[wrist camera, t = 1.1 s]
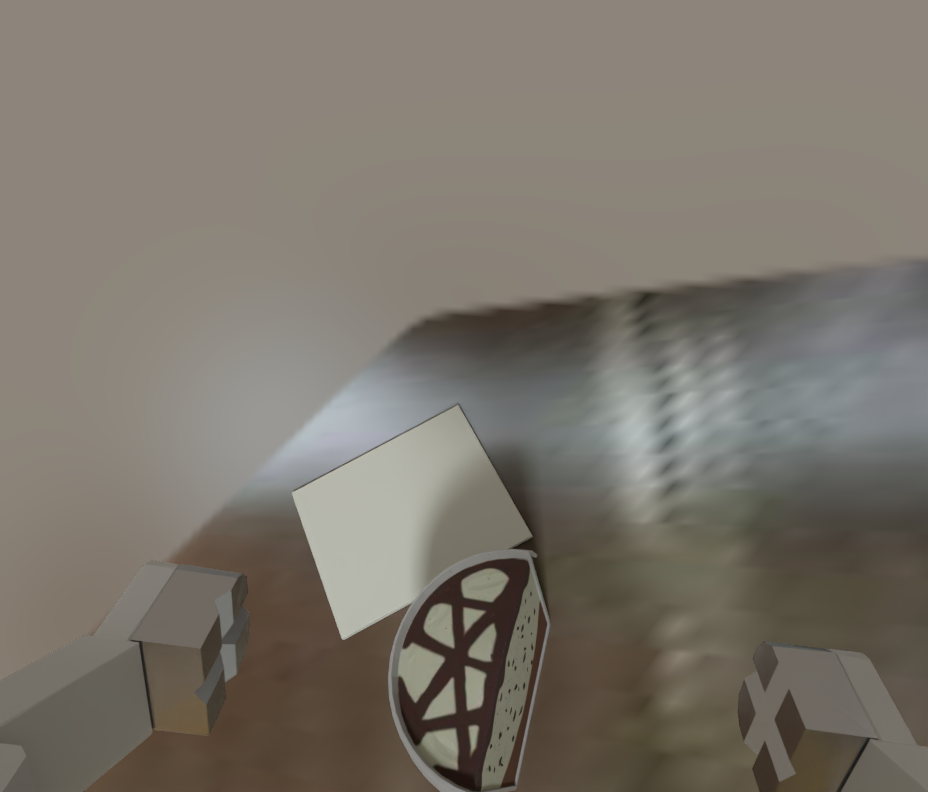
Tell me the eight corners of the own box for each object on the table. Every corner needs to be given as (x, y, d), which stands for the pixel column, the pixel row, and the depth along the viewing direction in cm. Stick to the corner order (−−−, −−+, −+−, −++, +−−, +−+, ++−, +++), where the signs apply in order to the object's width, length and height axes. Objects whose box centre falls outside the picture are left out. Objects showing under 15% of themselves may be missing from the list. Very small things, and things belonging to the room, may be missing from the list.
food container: (463, 580, 47) (420, 520, 38) (555, 599, 45) (531, 540, 36) (407, 787, 41) (342, 769, 33) (510, 820, 39) (468, 810, 31)
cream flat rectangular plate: (459, 407, 54) (458, 404, 54) (532, 537, 47) (532, 535, 47) (293, 494, 53) (291, 492, 53) (343, 640, 46) (341, 638, 46)
